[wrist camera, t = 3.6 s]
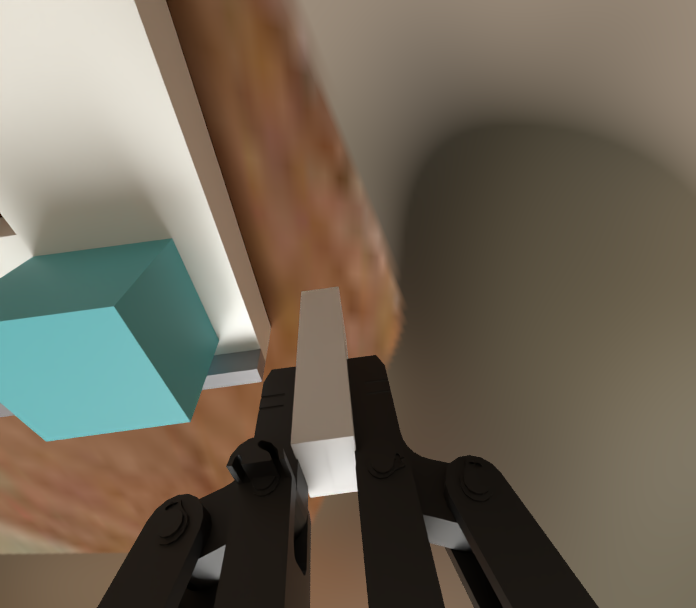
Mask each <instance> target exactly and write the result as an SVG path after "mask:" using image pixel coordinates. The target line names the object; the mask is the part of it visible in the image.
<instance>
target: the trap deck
mask: <svg viewBox="0 0 696 608" xmlns="http://www.w3.org/2000/svg"><path fill="white" fill-rule="evenodd" d="M0 213H1V215H2V216H3V218H0V278H1V277H3V276H4V275H6V274H7V273H9V272H10V271H12V270H13V269H15V268H16V267H18V266H20V265H21V264H23V263H24V262H26V261H27V260H29V259H30V258H32V257H33V256H41V255H48V254H56V253H64V252H71V251H79V250H86V249H94V248H101V247H109V246H117V245H124V244H132V243H139V242H147V241H154V240H162V239H170V238H172V239H173V241H174V243H175V245H176V248H177V250H178V252H179V254H180V256H181V258H182V261H183V263H184V265H185V267H186V269H187V271H188V274H189V276H190V278H191V280H192V282H193V285H194V287H195V289H196V291H197V293H198V295H199V298H200V300H201V302H202V304H203V306H204V309H205V311H206V313H207V315H208V317H209V319H210V322H211V324H212V326H213V328H214V330H215V332H216V335H217V337H218V339H219V343H218V346H217V348H216V351H215V354H214V357H213V360H212V362H211V365H210V368H209V371H208V374H207V377H206V379H205V382H204V385H203V388H202V390H204V389H212V388H219V387H226V386H234V385H241V384H249V383H256V382H262V379H263V373H264V367H265V361H266V355H267V349H268V343H269V337H270V332H271V326H270V323H269V320H268V317H267V314H266V311H265V308H264V304H263V301H262V298H261V295H260V292H259V289H258V286H257V283H256V280H255V276H254V273H253V270H252V267H251V264H250V261H249V258H248V255H247V251H246V248H245V245H244V242H243V239H242V236H241V233H240V230H239V227H238V223H237V220H236V217H235V214H234V211H233V208H232V205H231V202H230V199H229V195H228V192H227V189H226V186H225V183H224V180H223V177H222V174H221V170H220V167H219V164H218V161H217V158H216V155H215V152H214V149H213V146H212V142H211V139H210V136H209V133H208V130H207V127H206V124H205V121H204V118H203V114H202V111H201V108H200V105H199V102H198V99H197V96H196V93H195V89H194V86H193V83H192V80H191V77H190V74H189V71H188V68H187V65H186V61H185V58H184V55H183V52H182V49H181V46H180V43H179V40H178V37H177V33H176V30H175V27H174V24H173V21H172V18H171V15H170V12H169V8H168V5H167V2H166V0H0ZM12 415H14V414H13V413H12V412H11V411H10V410H8V409H7V408H6V407H5V406H4V405H2V404H1V403H0V417H5V416H12Z"/></svg>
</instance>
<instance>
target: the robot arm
mask: <svg viewBox="0 0 696 608" xmlns="http://www.w3.org/2000/svg"><path fill="white" fill-rule="evenodd" d="M261 397H262V399H261V401H260V407H259V409H260V411H259V413H258V418H257V424H256V430H255V436H254V438H251V439H248V440H247V441H245V442H244V443H242V444H241V445H239V446H238V448H237V449H236V450H235V451H234V452H233V454H232V455H231V456H230V459H229V461H228V464H227V466H226V467H227V468H228V470H229V472H230V473H231V475H232V476H233V478H234V479H235V480H234V481H233V482H232V483H231V484H229V485H227V486H225V487H224V488H222V489H220V490H217V491H215V492H213V493H211V494H209V495H207V496H205V497H203V498H201V499H198V498H197V497H195V496H192V495H190V494H184V495H177V496H175V497H173V498H171V499H169V500H167V501H165V502H164V503H163V504H162V505H161V506H159V507H158V508H157V509H156V510H155V511H154V513H153V514H152V515H151V517H150V518H149V519H148V521H147V522H146V524H145V526H144V527H143V529H142V531H141V533H140V534H139V536H138V538H137V540H136V541H135V543H134V545H133V546H132V548H131V550H130V552H129V553H128V555H127V557H126V559H125V560H124V562H123V564H122V566H121V567H120V569H119V571H118V572H117V574H116V576H115V578H114V579H113V581H112V583H111V585H110V587H109V588H108V590H107V592H106V593H105V595H104V597H103V598H102V600H101V602H100V604H99V605H98V607H97V608H310V550H311V548H310V547H311V520H310V514H309V511H308V492H309V495H310V497H318V496H326V495H333V494H341V493H348V492H356V491H358V500H359V511H360V521H361V532H362V542H363V553H364V563H365V574H366V583H367V593H368V605H369V608H445V606H444V602H443V598H442V593H441V589H440V585H439V581H438V577H437V572H436V568H435V564H434V560H433V556H432V552H431V547H430V543H432V544H436V545H440V546H444V547H445V549H446V551H447V553H448V555H449V557H450V559H451V561H452V563H453V565H454V567H455V569H456V571H457V573H458V575H459V578H460V580H461V582H462V584H463V586H464V588H465V590H466V592H467V594H468V596H469V598H470V600H471V602H472V604H473V607H474V608H599V607H598V606H597V605H596V603H595V602H594V600H593V599H592V598H591V596H590V595H589V593H588V592H587V591H586V589H585V588H584V587H583V585H582V584H581V582H580V581H579V580H578V578H577V577H576V576H575V574H574V573H573V572H572V570H571V569H570V567H569V566H568V564H567V563H566V562H565V560H564V559H563V558H562V556H561V555H560V553H559V552H558V551H557V549H556V548H555V547H554V545H553V544H552V542H551V541H550V540H549V538H548V537H547V536H546V534H545V533H544V531H543V530H542V529H541V527H540V526H539V525H538V523H537V522H536V521H535V519H534V518H533V516H532V515H531V513H530V512H529V511H528V509H527V508H526V507H525V505H524V504H523V502H522V501H521V500H520V498H519V497H518V496H517V494H516V493H515V491H514V490H513V489H512V487H511V486H510V485H509V483H508V482H507V481H506V479H505V478H504V476H503V475H502V473H501V472H500V471H499V470H498V469H497V468H496V467H495V466H494V465H493V464H491V463H490V462H488V461H486V460H484V459H483V458H481V457H476V456H471V455H468V456H462V457H458V458H457V459H455V460H454V461H452V462H451V463H446V462H441V461H436V460H431V459H428V458H425V457H421V456H419V455H418V454H416V453H414V452H413V451H412V450H411V449H410V448H409V447H408V446H407V445H406V443H405V442H404V440H403V438H402V435H401V433H400V429H399V424H398V420H397V416H396V411H395V408H394V403H393V398H392V395H391V391H390V386H389V381H388V377H387V373H386V369H385V365H384V364H383V363H382V362H381V360H380V359H379V358H378V357H377V356H376V355H373V356H365V357H358V358H350V359H348V352H347V343H346V335H345V328H344V321H343V314H342V308H341V301H340V294H339V287H334V288H326V289H318V290H311V291H303V292H301V305H300V319H299V333H298V347H297V361H296V367H289V368H281V369H274V370H271V372H270V373H269V375H268V377H267V378H266V380H265V381H264V384H263V389H262V395H261Z"/></svg>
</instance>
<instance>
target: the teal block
mask: <svg viewBox="0 0 696 608" xmlns="http://www.w3.org/2000/svg"><path fill="white" fill-rule="evenodd" d="M218 343H219V339H218V337H217V335H216V332H215V330H214V328H213V326H212V324H211V322H210V319H209V317H208V315H207V313H206V311H205V309H204V306H203V304H202V302H201V300H200V298H199V295H198V293H197V291H196V289H195V287H194V285H193V282H192V280H191V278H190V276H189V274H188V271H187V269H186V267H185V265H184V263H183V261H182V258H181V256H180V254H179V252H178V250H177V248H176V245H175V243H174V241H173V239H172V238H170V239H162V240H154V241H147V242H139V243H132V244H124V245H117V246H109V247H101V248H94V249H86V250H79V251H71V252H64V253H56V254H48V255H41V256H33V257H32V258H30V259H29V260H27V261H26V262H24V263H23V264H21V265H20V266H18V267H16V268H15V269H13V270H12V271H10V272H9V273H7V274H6V275H4V276H3V277H1V278H0V403H1V404H2V405H4V406H5V407H6V408H7V409H8V410H10V411H11V412H12V413H13V414H14V415H15V416H17V417H18V418H19V419H20V420H21V421H23V422H24V423H25V424H26V425H27V426H28V427H30V428H31V429H32V430H33V431H34V432H36V433H37V434H38V435H39V436H40V437H41V438H43V439H44V440H45V441H53V440H60V439H68V438H75V437H82V436H90V435H97V434H105V433H112V432H119V431H127V430H134V429H141V428H149V427H156V426H163V425H171V424H178V423H185V422H191V419H192V416H193V413H194V410H195V407H196V405H197V402H198V399H199V396H200V393H201V391H202V388H203V385H204V382H205V379H206V377H207V374H208V371H209V368H210V365H211V362H212V360H213V357H214V354H215V351H216V348H217V346H218Z"/></svg>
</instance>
